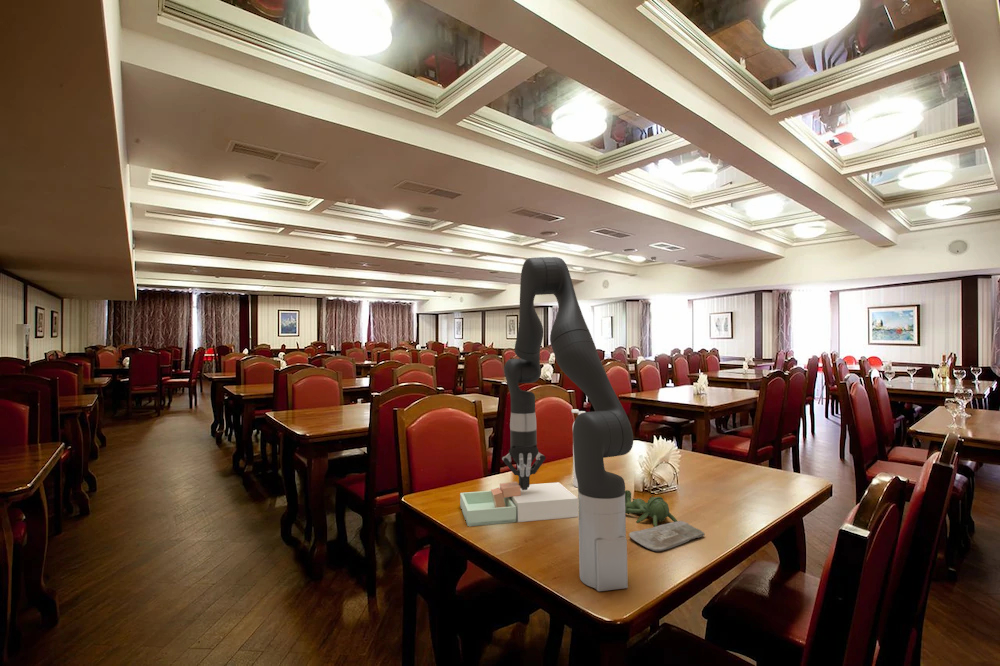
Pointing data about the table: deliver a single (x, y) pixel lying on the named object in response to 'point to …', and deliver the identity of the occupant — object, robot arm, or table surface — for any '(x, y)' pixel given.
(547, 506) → the raised plate
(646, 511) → the figurine
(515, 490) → the tile
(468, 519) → the box
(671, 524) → the stone
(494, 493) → the tile
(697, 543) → the table surface
